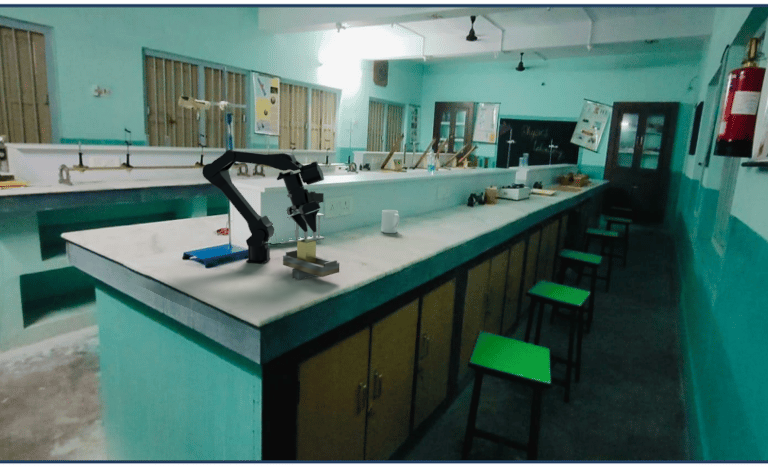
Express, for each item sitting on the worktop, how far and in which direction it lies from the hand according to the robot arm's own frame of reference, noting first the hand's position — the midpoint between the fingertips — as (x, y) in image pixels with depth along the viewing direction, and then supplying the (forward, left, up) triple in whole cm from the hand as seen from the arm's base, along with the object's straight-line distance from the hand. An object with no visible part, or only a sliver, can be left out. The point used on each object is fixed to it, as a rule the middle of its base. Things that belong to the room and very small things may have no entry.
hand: (310, 231), depth 155 cm
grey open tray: (+5, -15, -12) cm, 20 cm away
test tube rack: (-16, +33, -12) cm, 39 cm away
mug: (+21, +65, -12) cm, 69 cm away
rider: (+3, -14, -7) cm, 16 cm away
